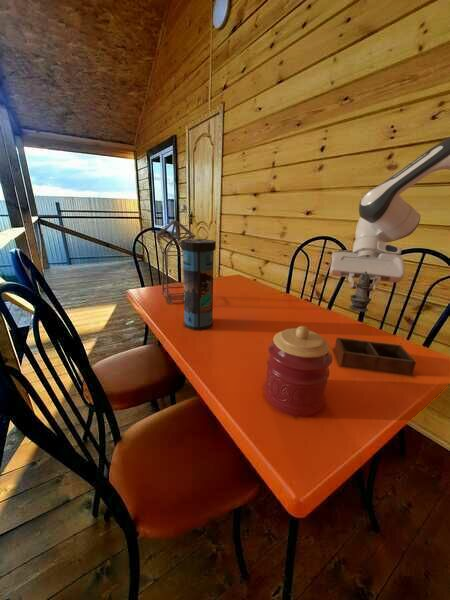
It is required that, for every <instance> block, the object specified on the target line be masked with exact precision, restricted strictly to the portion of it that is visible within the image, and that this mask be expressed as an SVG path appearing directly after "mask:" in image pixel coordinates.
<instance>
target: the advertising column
mask: <svg viewBox="0 0 450 600" xmlns="http://www.w3.org/2000/svg"><path fill="white" fill-rule="evenodd" d="M180 242H181V244H180V245H181V247H180V249H181V251H183V252H182V255H183V256H182V268H183V270H182V271H183V273H182V274H183V287H184V288H183V293H184V297H183V312H184V313H183V314H184V326H185V327H186V328H187V329H189V330H192V331H204V330H207V329H210V328H211V327H213V320H214V319H213V317H214V315H213V314H214V310H213V309H214V259H215V258H214V254H215V253H214V251H216V250H217V249H216V248H217V247H216V245H217V244H216V243H217V242H216V240H213V239H206V238H205V239H204V238H194V239H187V238H184V239H181V240H180Z"/></svg>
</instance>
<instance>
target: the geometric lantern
mask: <svg viewBox="0 0 450 600" xmlns="http://www.w3.org/2000/svg"><path fill="white" fill-rule="evenodd" d="M171 226H172V229H171V233H168V232H166V231H168V230H169V228H170V227H171ZM179 228H181V229H182V231H184V232H180V229H179ZM175 231H176V233H175ZM155 234H156V240H157V243H158V246H159V249H160V252H161V255H162V256H161V257H162V259H161V260H162V261H161V263H162V265H161V266H162V271H161V285H162V286H161V296H162V297H164V298H165V299H166V300H168V304H171V305H175V304H177V302H173V301H182V300H183V301H184V292H177V293H170V291H169V289H184V286H169V274H168V273H169V268H168V267H169V264H168V263H169V261H168V259H169V257H183V254H168V253H183V250H171V248H172V246H179V247H180V248H181V240H183V239H195V238H196V237H197V236H196V234H194V233H193V232H192V231H190V230H189V229H188V228H187V227H185V225H183V224H182V223H180V222H179V221H178V220H171V221H170V222H169V223H167V224H166V225H165V226H164V227H162V228H161V229H159V230H158V231H157V232H155ZM181 235H183V236H181ZM166 238H167V239H168V240H167V239H166ZM160 240H163V241H164V242H166V243H167V244H168V246H167V248H166V250H165V248H164V246H163V243H162V242H161V241H160ZM169 240H170V241H169ZM173 242H177V243H173ZM165 285H166V287H165ZM164 293H165V294H166V295H165V294H164ZM179 297H183V298H179Z"/></svg>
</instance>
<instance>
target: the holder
mask: <svg viewBox="0 0 450 600" xmlns="http://www.w3.org/2000/svg"><path fill="white" fill-rule="evenodd" d="M333 350H334V352H335V355H336V357H337V360H338V363H339V366H340V367H344V368H353V369H359V370H366V371H373V372H380V373H388V374H396V375H402V376H403V375H404V376H409V377H412V376H413V373H414V370H415V366H416V363H417V361H416V360H415V359H414V358H413V357H412V356H411V355H410V354H409V352H408V351H407V350H406V349H405V348H404V347H403V345H401V344H395V343H394V344H393V343H387V342H386V343H385V342H377V341H369V340H361V339H353V338H344V337H336V338H335V344H334V349H333Z"/></svg>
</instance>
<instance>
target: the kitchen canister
mask: <svg viewBox="0 0 450 600" xmlns="http://www.w3.org/2000/svg"><path fill="white" fill-rule="evenodd" d="M272 340H273V341H271V343H269V345H268V348H267V349H268V353H269V356H268V358H267V361H266V367H267V369H266V377H265V378H266V379H265V381H264V393H265V399H266V400H267V402H268V403H269V404H270V406H272V407H273V408H274V409H276V410H277V411H279V412H281V413H283V414H285V415H288V416H291V417H296V418H306V417H312V416H314V415H316V414H317V413H319V412H320V411H321V410H322V407H323V406H324V403H325V399H326V391H327V390H326V389H327V384H328V379H329V377H330V368H329V367H330V366H331V365H332V363H333V356H332V354H331V352H330V351H331V346H330V344H329V342H328V341H327V340H326V339H325V338H323V337H322V335H320V334H318V333H316V332H315V331H312V330H309V328H308V327H307V326H306V325H305V326H304V325H300V326H298V327H291V328H286V329H284V330H281V331H279V332H277V333H275V335H274V336H273V339H272Z"/></svg>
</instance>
